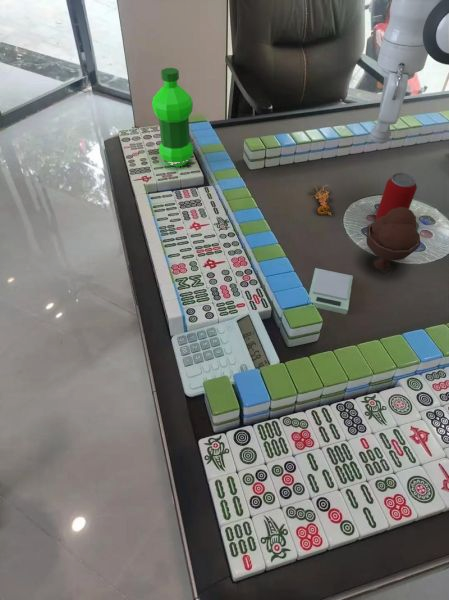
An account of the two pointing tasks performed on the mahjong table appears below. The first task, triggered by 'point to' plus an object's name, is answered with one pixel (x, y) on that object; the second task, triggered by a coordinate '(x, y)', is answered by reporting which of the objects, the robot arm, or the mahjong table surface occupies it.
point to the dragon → (323, 200)
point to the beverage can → (397, 193)
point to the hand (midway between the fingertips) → (383, 125)
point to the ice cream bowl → (393, 236)
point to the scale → (331, 290)
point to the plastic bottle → (173, 119)
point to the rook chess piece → (380, 135)
